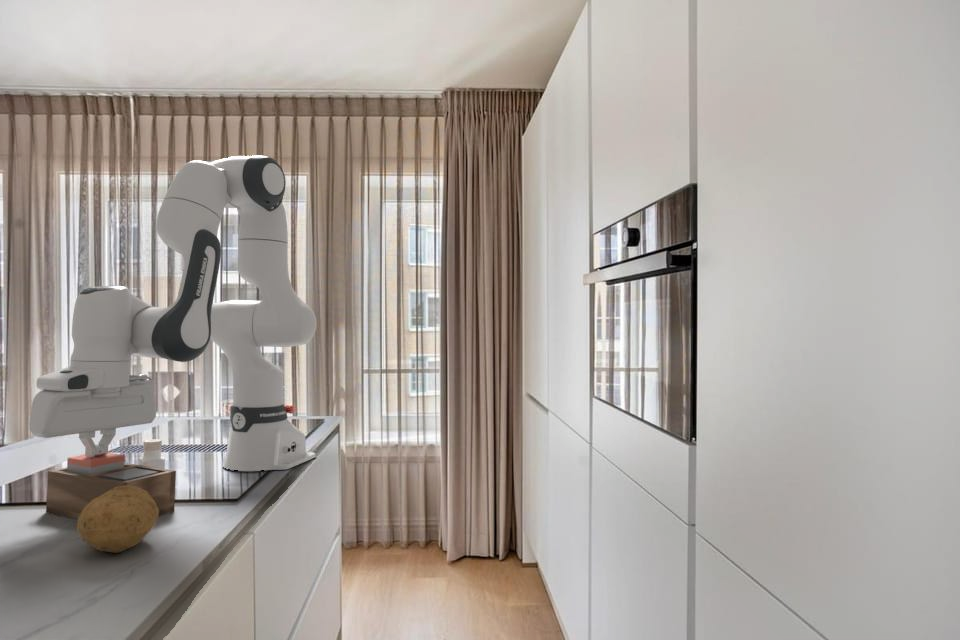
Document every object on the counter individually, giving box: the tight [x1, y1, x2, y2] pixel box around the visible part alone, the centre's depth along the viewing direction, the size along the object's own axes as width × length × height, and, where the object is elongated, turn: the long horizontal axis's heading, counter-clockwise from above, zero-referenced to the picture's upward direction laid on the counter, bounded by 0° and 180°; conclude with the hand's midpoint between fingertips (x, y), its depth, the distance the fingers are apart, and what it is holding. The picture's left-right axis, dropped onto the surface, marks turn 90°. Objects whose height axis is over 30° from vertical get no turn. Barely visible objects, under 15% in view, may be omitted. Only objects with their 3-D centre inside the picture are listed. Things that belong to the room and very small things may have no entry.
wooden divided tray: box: [45, 462, 177, 520], centre depth 98 cm, size 10×18×7 cm, turn 68°
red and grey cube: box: [66, 452, 126, 475], centre depth 100 cm, size 6×6×6 cm
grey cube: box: [100, 468, 158, 482], centre depth 97 cm, size 6×6×6 cm
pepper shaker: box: [138, 438, 166, 469], centre depth 113 cm, size 4×4×10 cm
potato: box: [76, 485, 159, 554], centre depth 82 cm, size 10×14×8 cm
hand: (96, 455), depth 100 cm, fingers closed
